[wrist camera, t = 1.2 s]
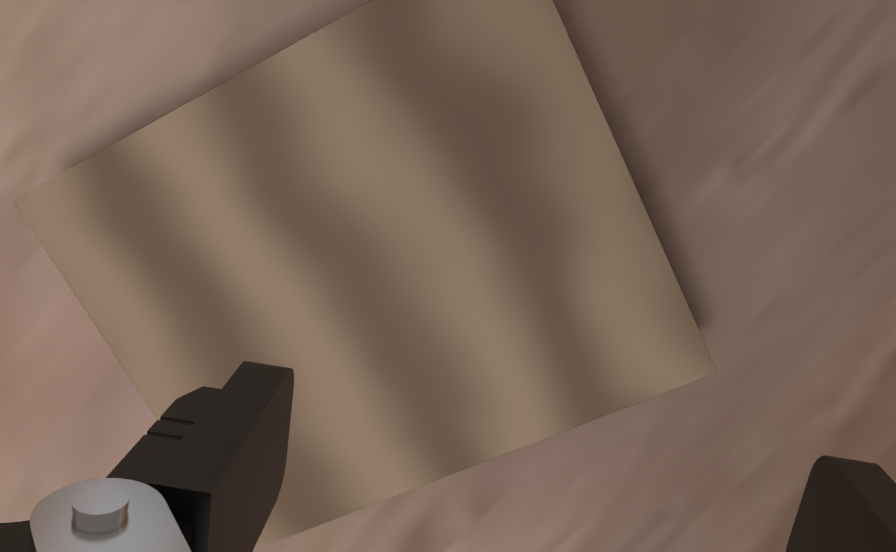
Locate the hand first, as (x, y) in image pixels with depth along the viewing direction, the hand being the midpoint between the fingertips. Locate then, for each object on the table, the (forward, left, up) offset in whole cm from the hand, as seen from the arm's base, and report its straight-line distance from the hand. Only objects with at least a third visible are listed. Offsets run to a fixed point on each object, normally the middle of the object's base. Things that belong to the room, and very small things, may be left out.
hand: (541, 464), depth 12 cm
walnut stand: (+8, 0, -22) cm, 23 cm away
